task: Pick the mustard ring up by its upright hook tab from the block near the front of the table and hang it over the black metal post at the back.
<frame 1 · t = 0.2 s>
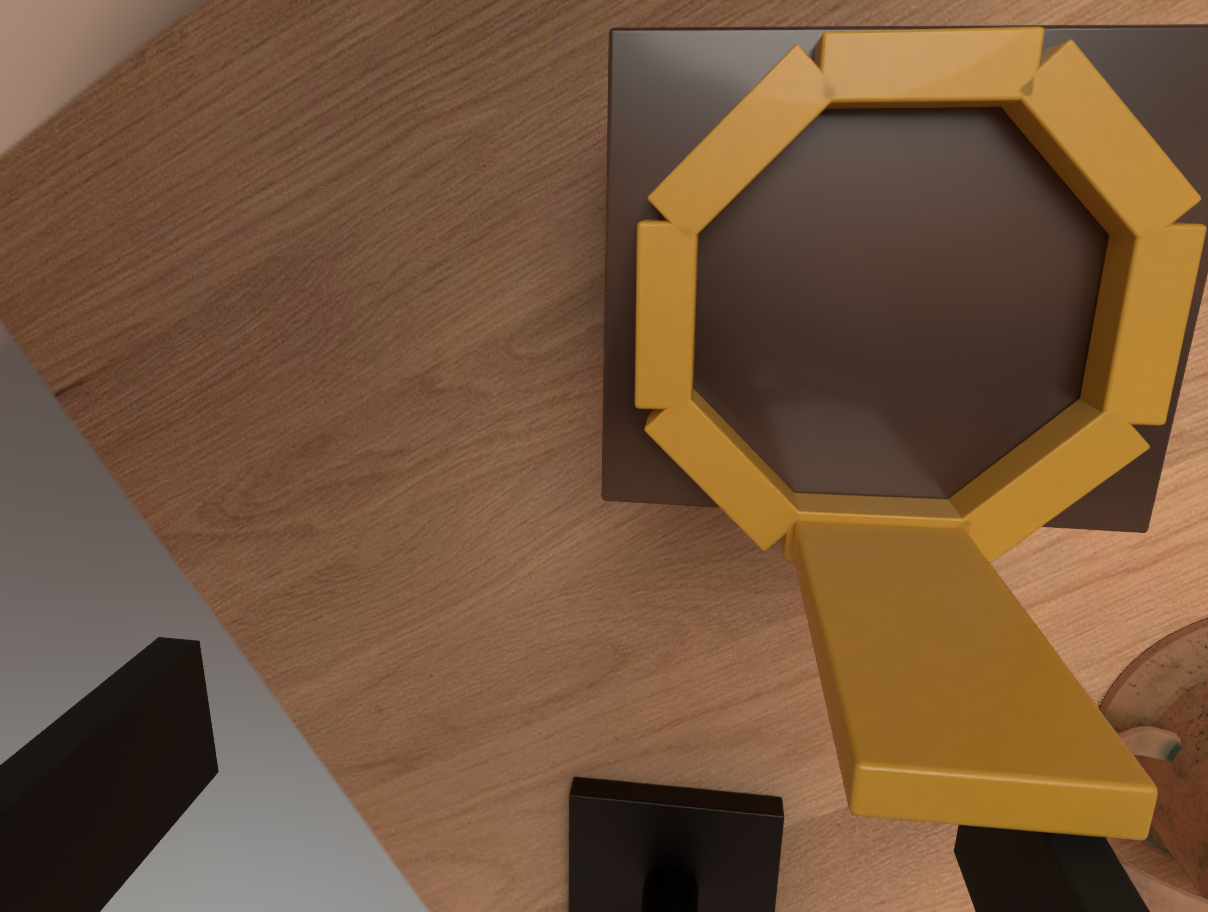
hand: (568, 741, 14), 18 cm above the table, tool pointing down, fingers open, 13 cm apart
block: (820, 253, 29), on the table
ring: (888, 315, 17), point 12 cm above the table, touching block
mug: (1173, 713, 32), on the table
post: (672, 869, 37), on the table
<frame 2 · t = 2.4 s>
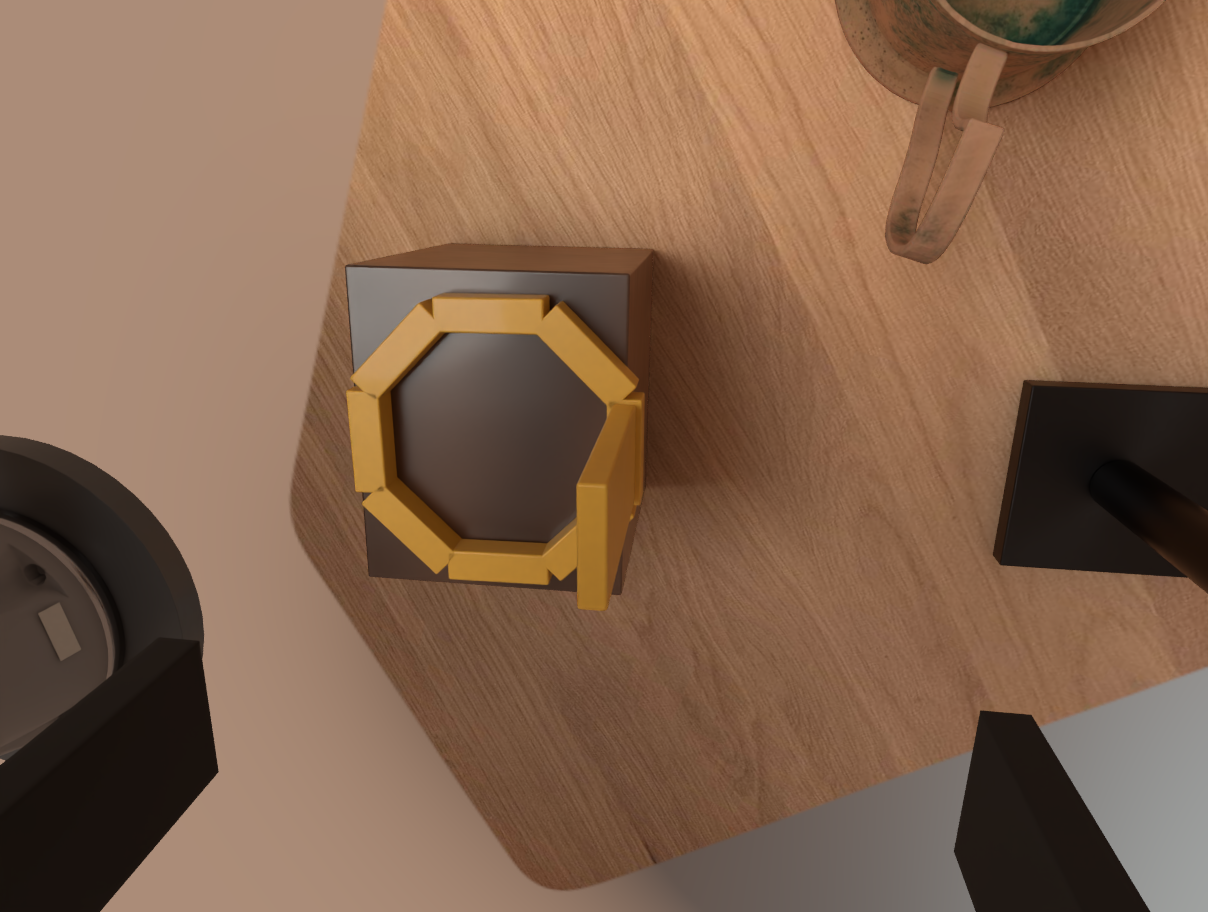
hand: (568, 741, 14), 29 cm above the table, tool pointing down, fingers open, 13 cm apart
block: (549, 369, 42), on the table
ring: (500, 438, 30), point 12 cm above the table, touching block
mug: (944, 37, 35), on the table
post: (1105, 476, 40), on the table
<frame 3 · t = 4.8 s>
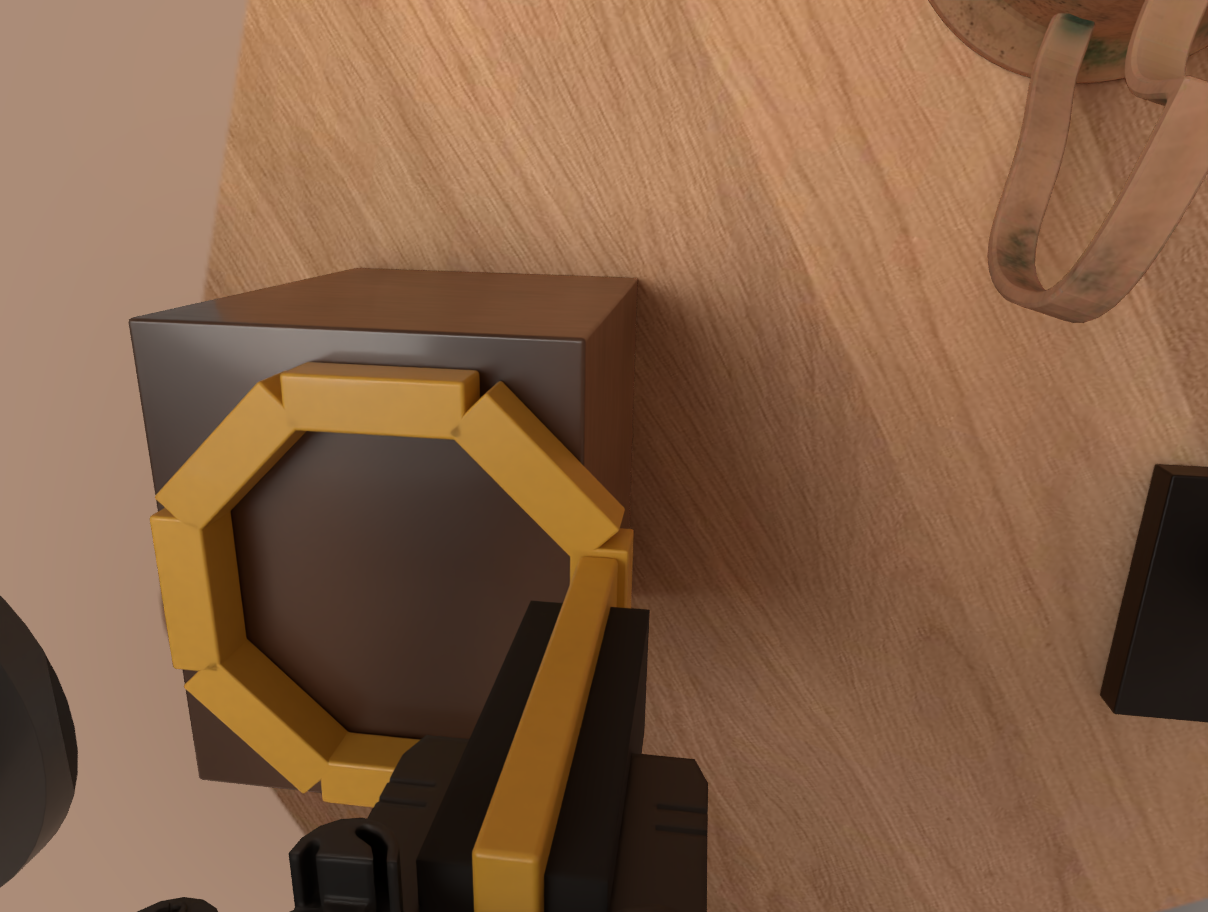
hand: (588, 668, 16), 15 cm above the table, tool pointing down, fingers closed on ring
block: (496, 439, 30), on the table
ring: (404, 589, 19), point 12 cm above the table, touching gripper
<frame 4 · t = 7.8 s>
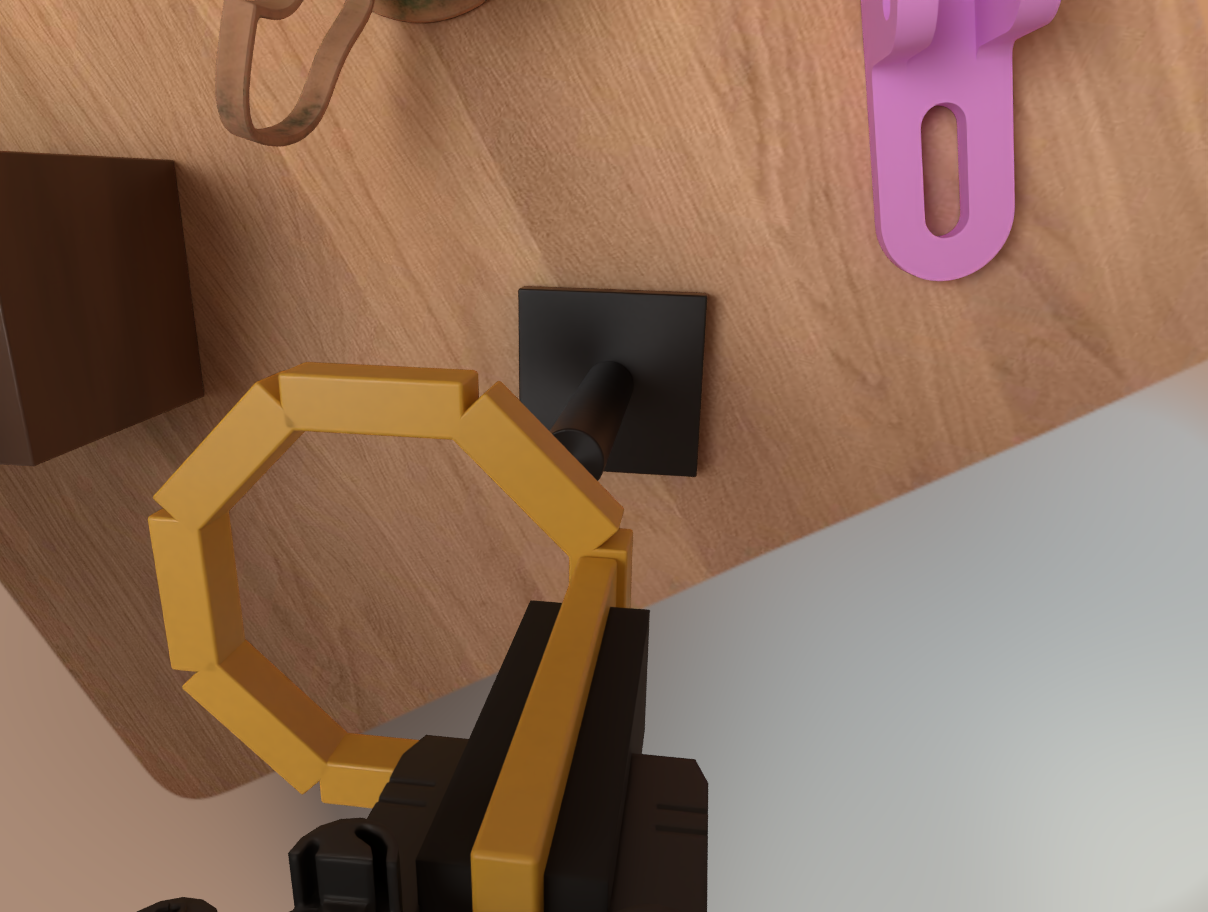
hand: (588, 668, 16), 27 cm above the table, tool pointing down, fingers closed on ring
block: (100, 279, 43), on the table
ring: (403, 589, 19), point 24 cm above the table, touching gripper
post: (611, 379, 42), on the table
bracket: (933, 128, 37), on the table
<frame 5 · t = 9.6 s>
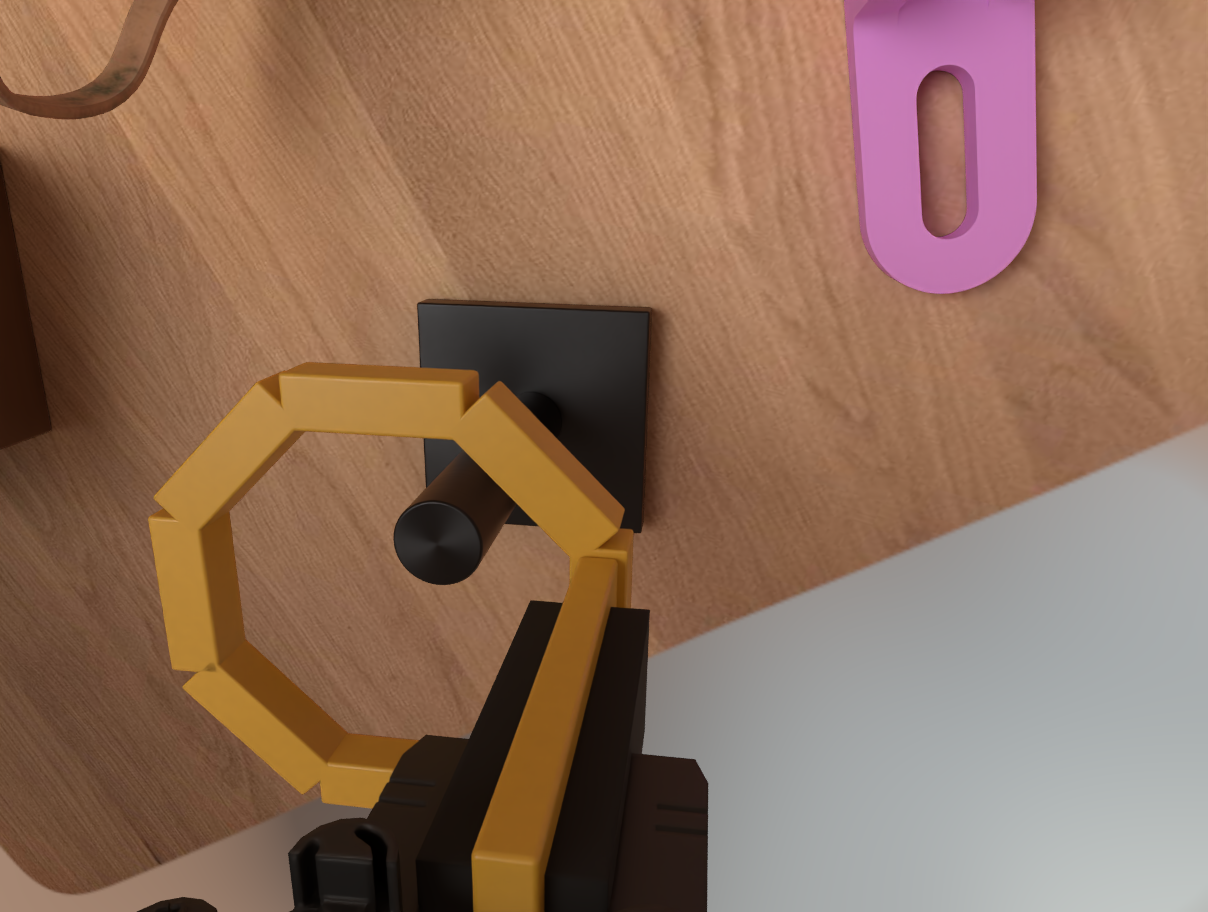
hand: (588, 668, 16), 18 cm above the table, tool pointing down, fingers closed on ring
ring: (404, 589, 19), point 16 cm above the table, touching gripper
post: (537, 413, 34), on the table
bracket: (933, 100, 29), on the table
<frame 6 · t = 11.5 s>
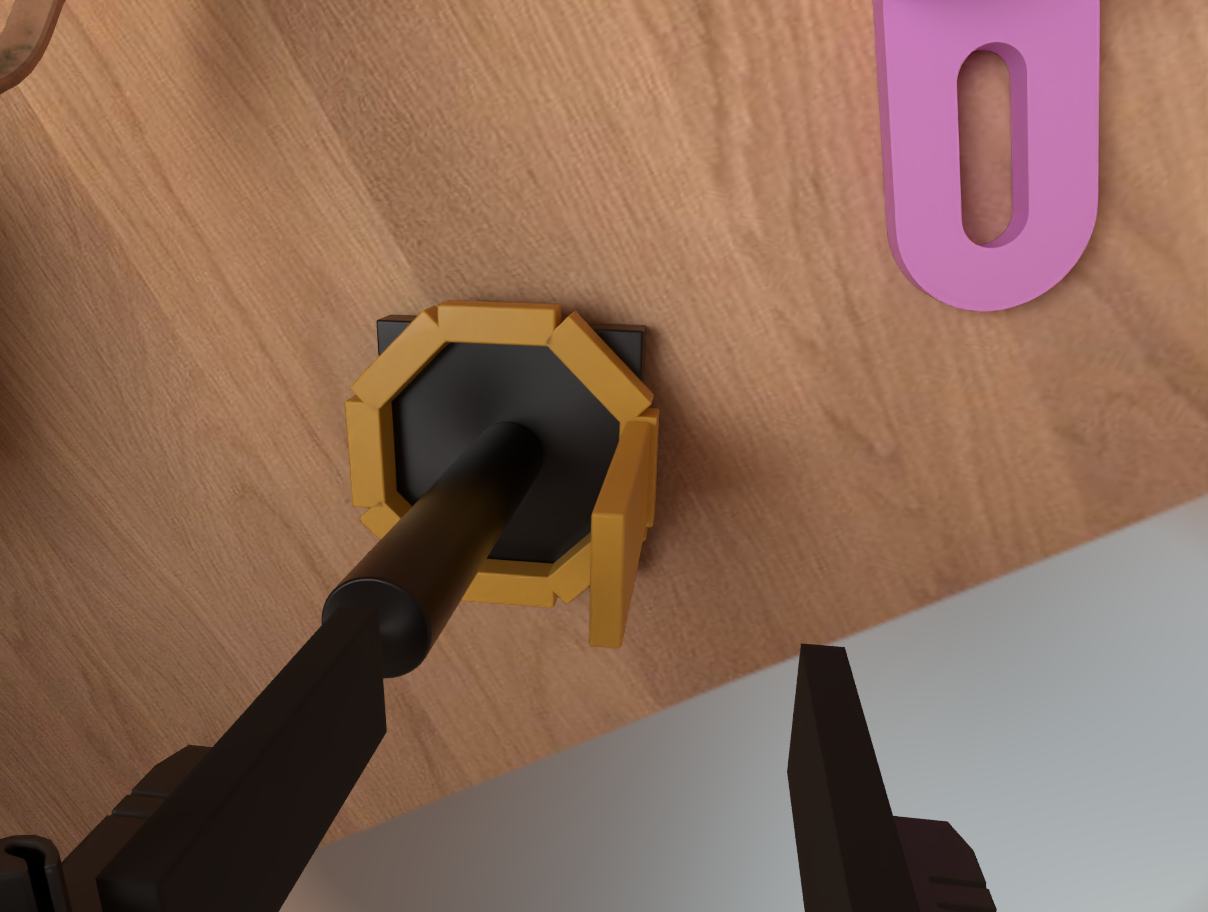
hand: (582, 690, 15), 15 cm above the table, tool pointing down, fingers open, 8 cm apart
ring: (506, 453, 29), point 1 cm above the table, touching post
post: (516, 445, 30), on the table
bracket: (974, 85, 25), on the table
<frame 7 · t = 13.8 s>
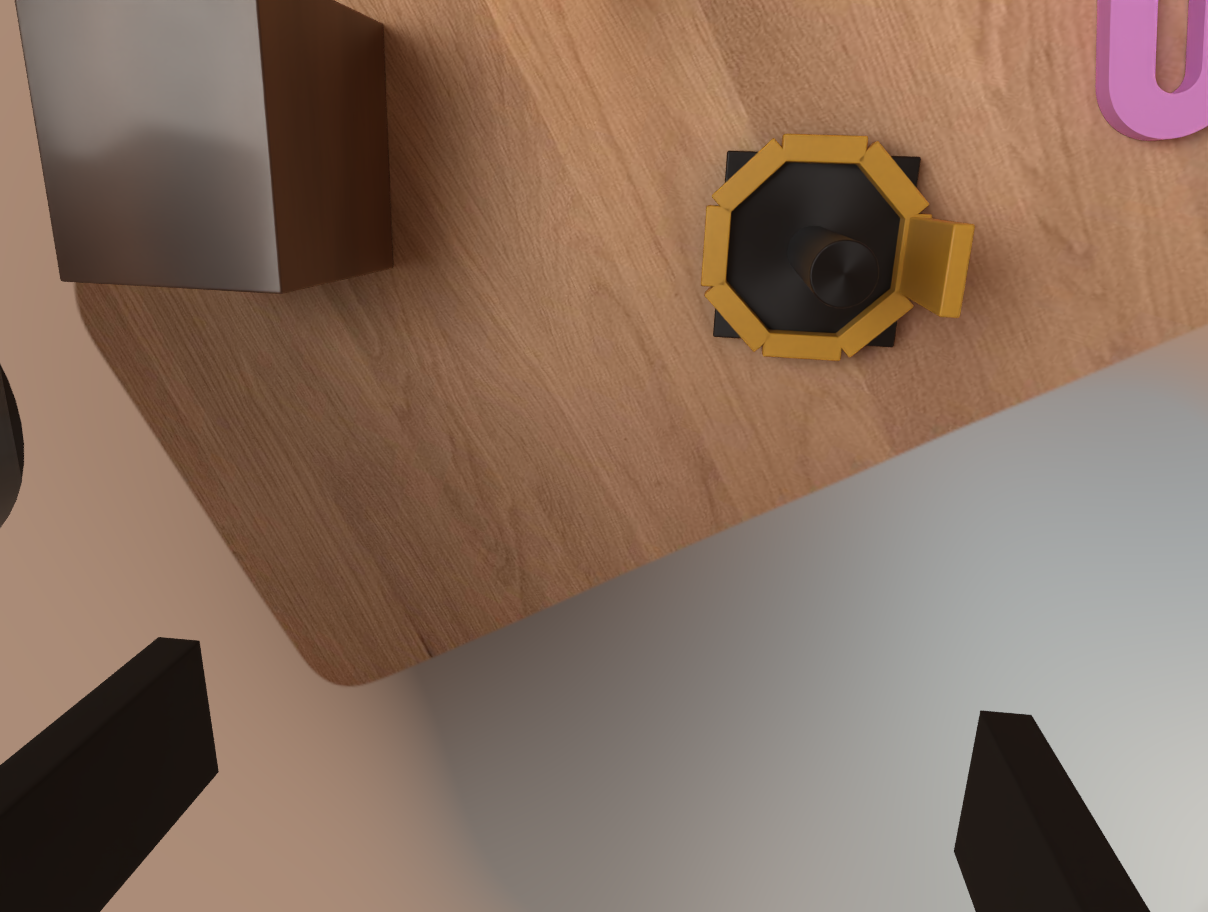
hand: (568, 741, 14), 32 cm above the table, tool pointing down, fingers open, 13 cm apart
block: (298, 148, 44), on the table
ring: (810, 249, 41), point 1 cm above the table, touching post
post: (810, 249, 42), on the table
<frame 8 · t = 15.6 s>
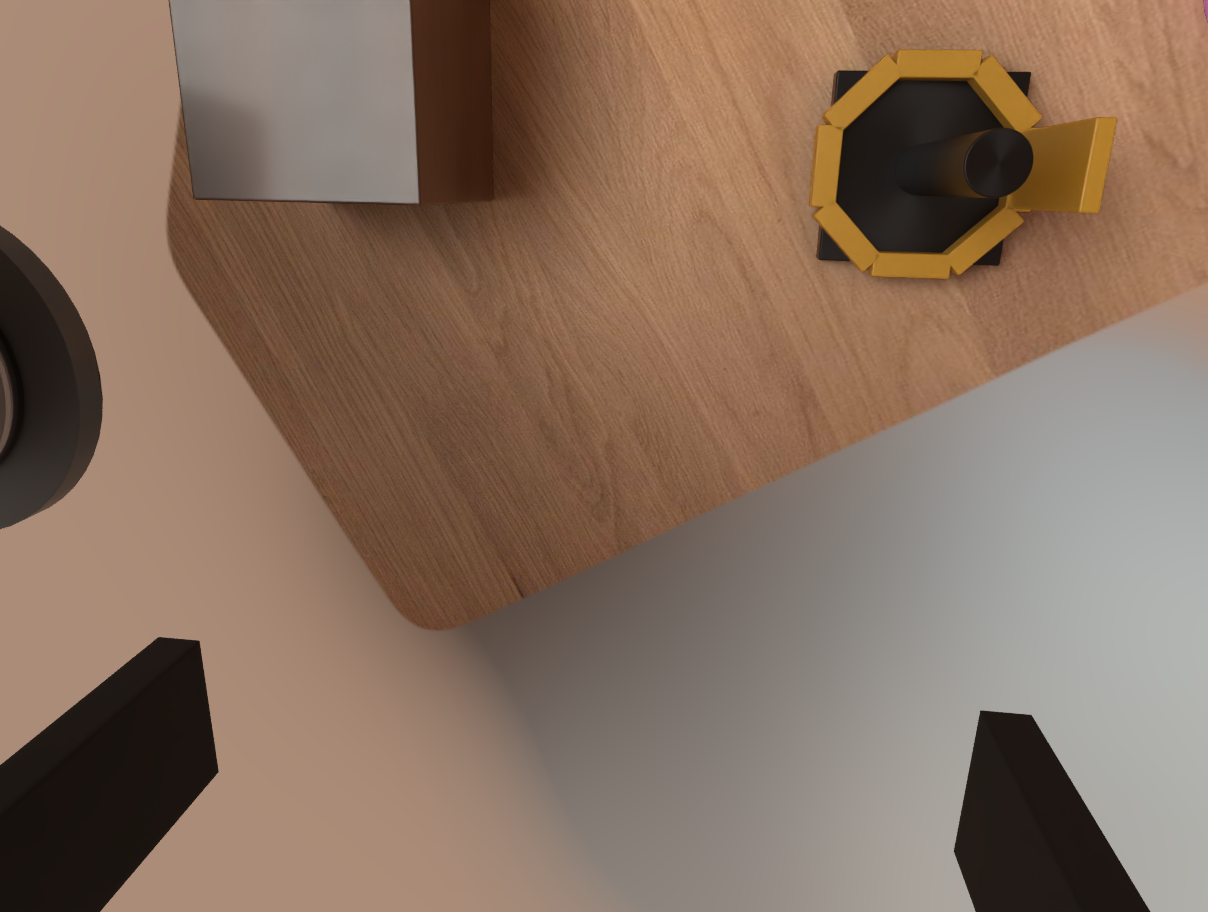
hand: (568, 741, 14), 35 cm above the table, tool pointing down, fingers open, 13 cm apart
block: (399, 80, 44), on the table
ring: (918, 168, 41), point 1 cm above the table, touching post
post: (914, 170, 42), on the table
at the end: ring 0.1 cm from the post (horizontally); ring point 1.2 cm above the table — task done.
